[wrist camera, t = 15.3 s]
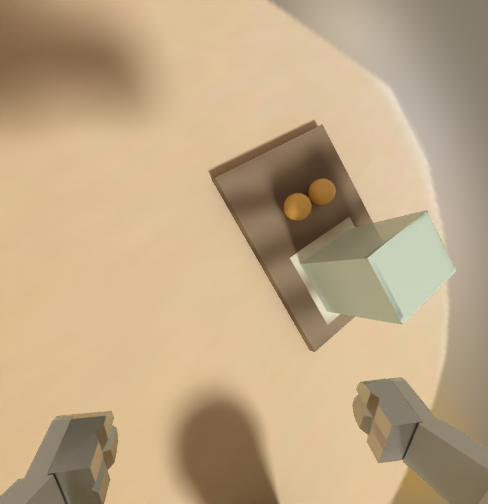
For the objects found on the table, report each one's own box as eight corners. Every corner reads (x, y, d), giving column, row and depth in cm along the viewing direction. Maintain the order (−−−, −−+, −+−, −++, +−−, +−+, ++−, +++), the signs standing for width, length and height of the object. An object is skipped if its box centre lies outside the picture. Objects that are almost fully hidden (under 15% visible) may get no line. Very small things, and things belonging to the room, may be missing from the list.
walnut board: (212, 180, 30) (215, 177, 29) (317, 128, 36) (322, 123, 35) (309, 349, 33) (315, 352, 32) (394, 276, 38) (401, 276, 37)
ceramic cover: (300, 264, 32) (367, 257, 23) (349, 228, 35) (426, 210, 26) (326, 311, 33) (402, 324, 23) (372, 273, 36) (456, 270, 26)
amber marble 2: (298, 189, 33) (313, 181, 30) (317, 179, 34) (333, 170, 31) (311, 212, 33) (327, 206, 31) (328, 201, 34) (345, 194, 32)
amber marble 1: (274, 204, 32) (287, 197, 29) (293, 192, 33) (308, 184, 30) (287, 227, 32) (301, 222, 29) (306, 215, 33) (321, 209, 30)
